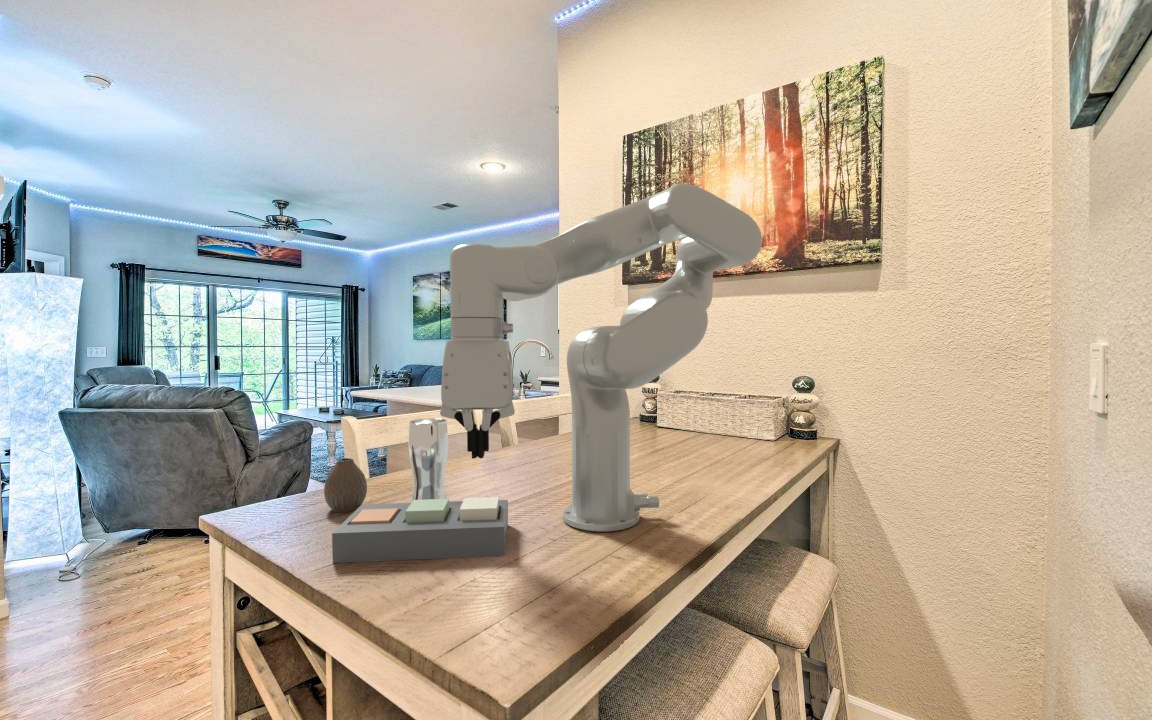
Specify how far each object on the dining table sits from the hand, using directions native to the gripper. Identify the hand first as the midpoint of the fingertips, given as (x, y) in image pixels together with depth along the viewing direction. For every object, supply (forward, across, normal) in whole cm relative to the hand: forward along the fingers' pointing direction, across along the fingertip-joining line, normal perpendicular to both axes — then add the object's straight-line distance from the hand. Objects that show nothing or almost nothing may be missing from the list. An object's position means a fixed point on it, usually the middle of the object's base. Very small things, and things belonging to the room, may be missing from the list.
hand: (478, 456), depth 75 cm
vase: (+13, +25, -17) cm, 33 cm away
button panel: (+12, +7, 0) cm, 14 cm away
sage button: (+11, +7, 0) cm, 13 cm away
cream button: (+11, 0, 0) cm, 11 cm away
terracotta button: (+12, +15, 0) cm, 19 cm away
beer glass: (+13, +11, -19) cm, 25 cm away
